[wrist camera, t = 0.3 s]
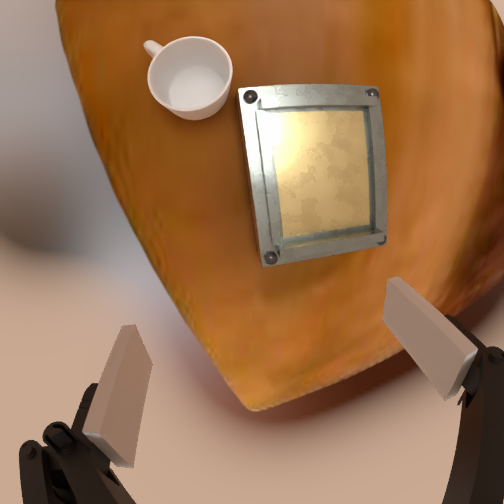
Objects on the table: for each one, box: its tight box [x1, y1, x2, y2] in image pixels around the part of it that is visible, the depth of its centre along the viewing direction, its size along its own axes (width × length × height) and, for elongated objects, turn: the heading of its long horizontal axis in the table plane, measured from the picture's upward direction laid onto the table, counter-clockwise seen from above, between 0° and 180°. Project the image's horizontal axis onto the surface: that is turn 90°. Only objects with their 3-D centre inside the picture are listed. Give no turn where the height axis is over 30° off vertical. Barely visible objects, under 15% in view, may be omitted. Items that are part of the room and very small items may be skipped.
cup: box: [144, 36, 233, 120], centre depth 26 cm, size 8×12×10 cm
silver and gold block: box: [236, 84, 387, 267], centre depth 34 cm, size 22×18×8 cm
